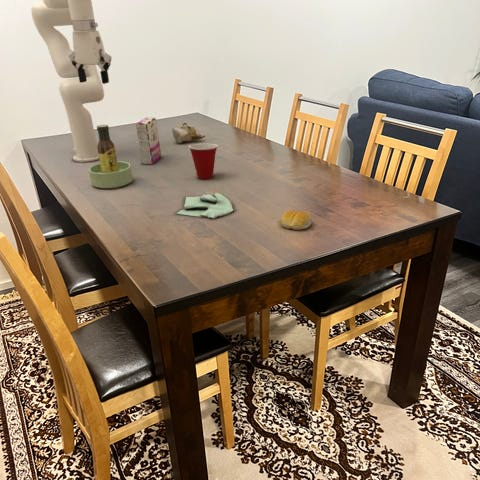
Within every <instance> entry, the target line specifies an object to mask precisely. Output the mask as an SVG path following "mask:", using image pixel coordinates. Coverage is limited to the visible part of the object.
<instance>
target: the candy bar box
mask: <svg viewBox="0 0 480 480" xmlns="http://www.w3.org/2000/svg"><path fill="white" fill-rule="evenodd" d="M135 128H136V133H137V138H138V145H139V150H140V157H141V163H142V165H154V164H155V163H156V162H157V161H158V160H159V159H161V157H162V151H161V146H160V138H159V132H158V123H157V118H156V117H151V116H150V117H147V116H146V117H144V118H142V119H141V120H140V121H138V122H137V123H135Z"/></svg>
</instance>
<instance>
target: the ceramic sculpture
mask: <svg viewBox="0 0 480 480" xmlns="http://www.w3.org/2000/svg"><path fill="white" fill-rule="evenodd" d="M171 130H172V131H171V132H172V137H173V139H174V141H175V143H177V144H182V143H183V142H185V143H186V142H193V141H199V140H203V139H204V138H205V137H206V135H202V134H200V133H197V129H196V128H195V127H194V126H193V125H190V124H187V123H186V122H184V123H182V124H181V125H180V127H179V128H175V127H172V128H171Z"/></svg>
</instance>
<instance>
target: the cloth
mask: <svg viewBox="0 0 480 480" xmlns="http://www.w3.org/2000/svg"><path fill="white" fill-rule="evenodd" d="M183 207H184V208H182V209H181V210H179V211H178V212H176V214H177V215H182V216H183V215H184V216H189V217H196V218H211V219H212V220H214V219H216V218H220V217H222V216H227V215H229V214H231V213H232V212H234V211H235V210H234V209H233V205H232V202H231V201H230V199H228V198H227V197H226V196H224V194H221V193H219V192H215V193H214V196H213V195H211V194H206V193H204V194H202V195H200V196H186V197H185V201H184V205H183Z"/></svg>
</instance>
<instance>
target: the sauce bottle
mask: <svg viewBox="0 0 480 480" xmlns="http://www.w3.org/2000/svg"><path fill="white" fill-rule="evenodd" d="M96 130H97V132H98V133H97V134H98V139H99V140H98V142H97V148H98V154H99V159H98V160H99V163H100V165H101V171H102V173H113V172H118V171H119V169H118V163H117V161H118V158H117V153H116V147H115V143H114V142H113V141H112V140H111V136H110V128H109V125H108V124H98V125H96Z"/></svg>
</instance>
